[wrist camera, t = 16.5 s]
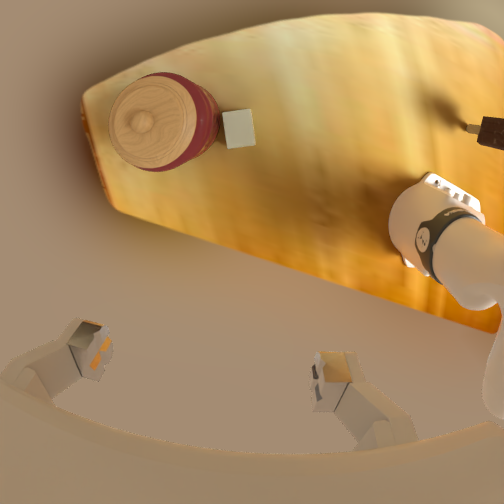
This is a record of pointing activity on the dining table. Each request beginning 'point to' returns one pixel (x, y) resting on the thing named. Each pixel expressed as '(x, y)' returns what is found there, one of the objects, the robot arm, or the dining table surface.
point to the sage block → (239, 128)
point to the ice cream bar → (489, 132)
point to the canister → (163, 122)
